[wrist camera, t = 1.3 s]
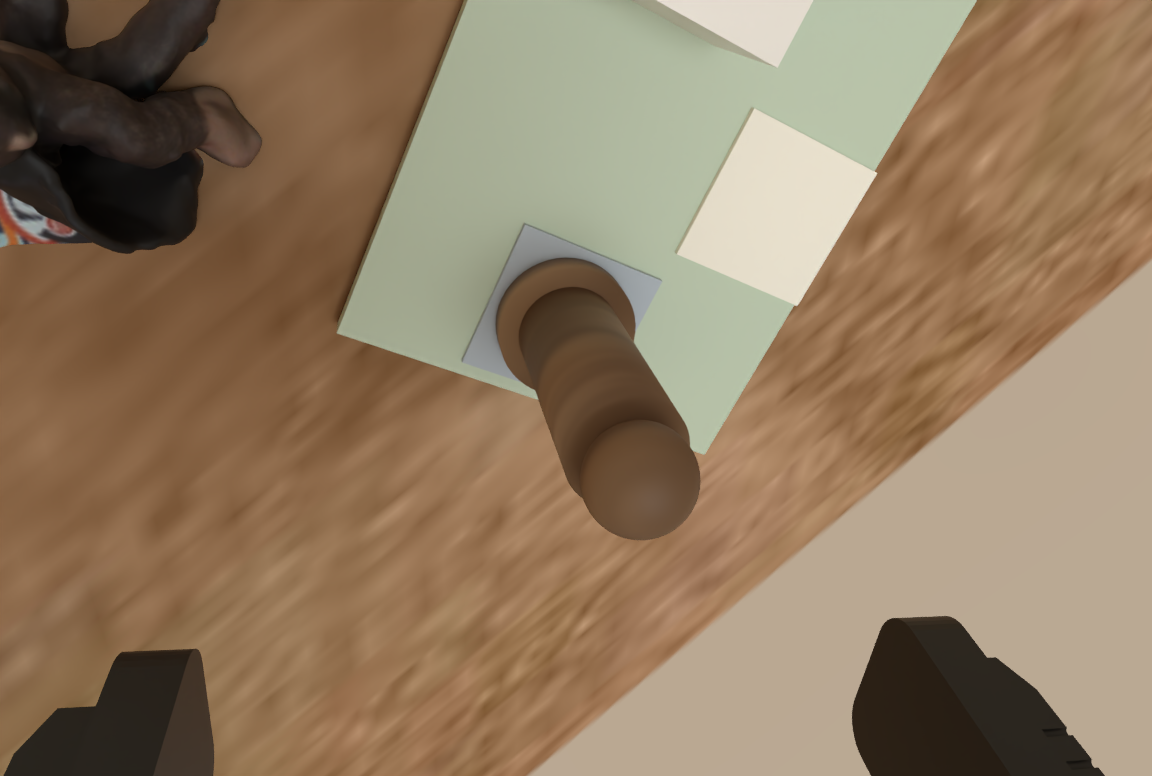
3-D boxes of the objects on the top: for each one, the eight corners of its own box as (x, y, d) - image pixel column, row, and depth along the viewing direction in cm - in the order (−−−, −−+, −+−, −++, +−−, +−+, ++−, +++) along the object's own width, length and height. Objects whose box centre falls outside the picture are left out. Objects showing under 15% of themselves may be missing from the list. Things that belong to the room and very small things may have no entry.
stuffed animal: (377, -13, 23) (118, 380, 19) (280, 100, 31) (87, 389, 27) (-116, -436, 17) (-602, 5, 14) (-73, -162, 25) (-370, 157, 22)
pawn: (474, 357, 28) (525, 568, 19) (529, 237, 27) (616, 402, 17) (591, 397, 30) (691, 609, 20) (650, 286, 28) (787, 460, 19)
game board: (337, 322, 28) (336, 335, 27) (617, -391, 21) (628, -405, 20) (697, 443, 33) (706, 457, 32) (1016, -95, 26) (1038, -95, 25)
